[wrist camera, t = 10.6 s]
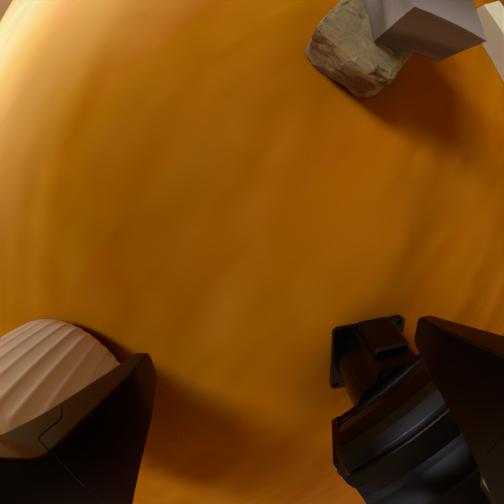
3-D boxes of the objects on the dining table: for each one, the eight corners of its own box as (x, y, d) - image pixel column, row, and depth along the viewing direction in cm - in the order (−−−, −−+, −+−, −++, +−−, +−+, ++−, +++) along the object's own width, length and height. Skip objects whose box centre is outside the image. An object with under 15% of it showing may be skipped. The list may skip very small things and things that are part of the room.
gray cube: (438, 61, 12) (486, 41, 7) (373, 41, 12) (414, 6, 7) (424, 5, 11) (462, -23, 6) (361, -16, 11) (391, -56, 6)
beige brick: (516, 70, 15) (538, 65, 12) (502, 82, 16) (527, 77, 12) (479, 10, 14) (499, 0, 10) (461, 16, 14) (483, 5, 10)
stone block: (417, 26, 15) (447, 5, 10) (360, 108, 18) (392, 93, 13) (364, -15, 14) (385, -44, 9) (294, 60, 17) (309, 31, 12)
